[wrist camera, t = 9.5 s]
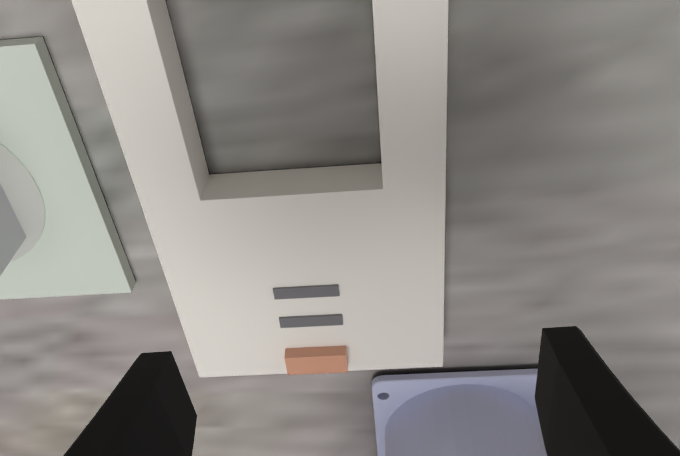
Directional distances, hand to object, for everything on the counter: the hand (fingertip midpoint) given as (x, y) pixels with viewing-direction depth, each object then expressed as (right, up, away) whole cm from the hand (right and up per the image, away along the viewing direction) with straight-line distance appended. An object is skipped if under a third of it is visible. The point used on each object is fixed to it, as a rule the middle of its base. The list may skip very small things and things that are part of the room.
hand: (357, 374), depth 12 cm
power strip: (-2, +5, +9) cm, 11 cm away
